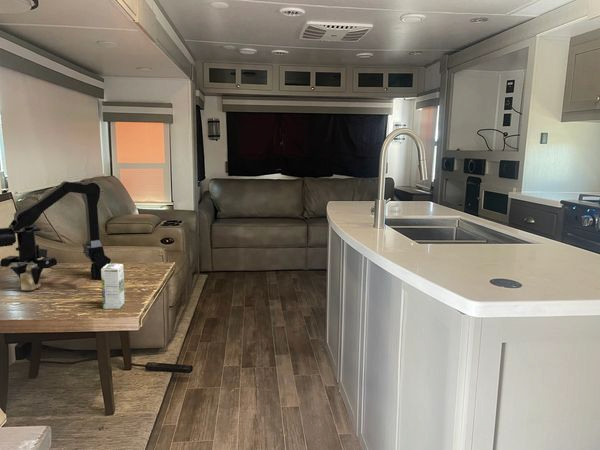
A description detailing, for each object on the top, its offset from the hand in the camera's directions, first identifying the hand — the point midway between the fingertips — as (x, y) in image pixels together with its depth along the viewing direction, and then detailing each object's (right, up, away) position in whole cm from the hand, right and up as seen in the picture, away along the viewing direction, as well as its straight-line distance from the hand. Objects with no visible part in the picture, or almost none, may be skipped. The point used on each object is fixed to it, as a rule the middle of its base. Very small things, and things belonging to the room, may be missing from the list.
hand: (30, 284), depth 168 cm
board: (+6, -1, +7) cm, 9 cm away
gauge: (0, -1, +4) cm, 4 cm away
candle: (-9, +1, +20) cm, 22 cm away
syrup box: (+37, -6, -14) cm, 40 cm away
